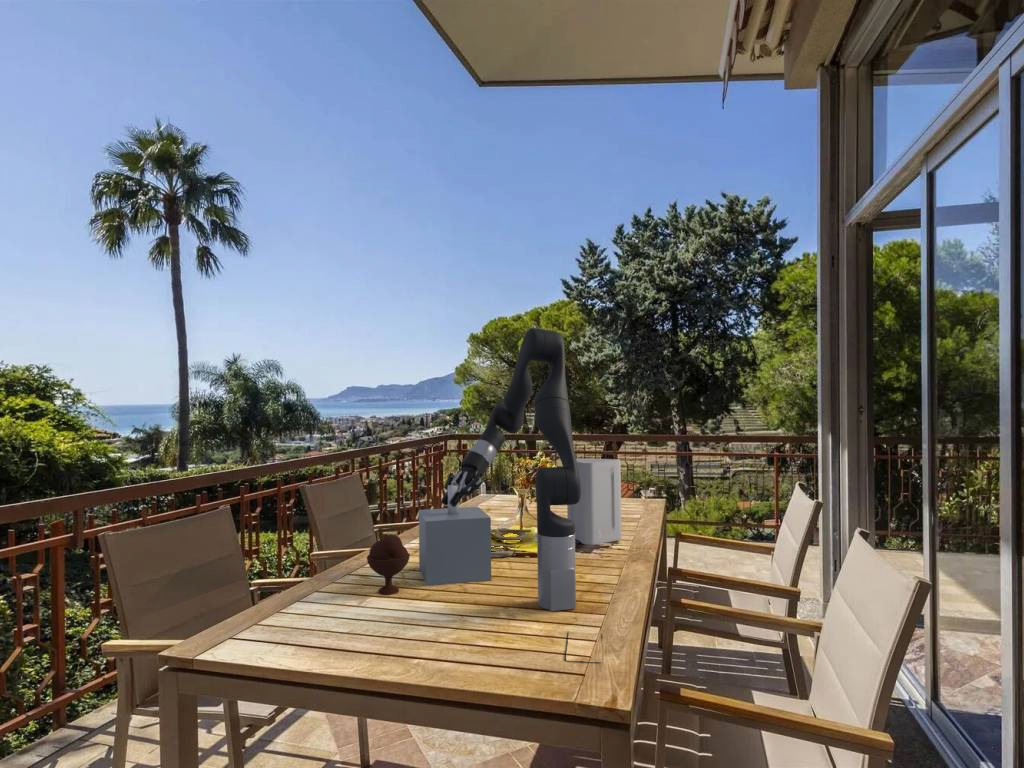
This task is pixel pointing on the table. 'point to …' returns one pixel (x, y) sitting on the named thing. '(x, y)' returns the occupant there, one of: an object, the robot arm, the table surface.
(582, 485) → the grey tall block
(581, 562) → the table surface
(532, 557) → the table surface
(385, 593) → the ice cream bowl
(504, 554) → the tableware set
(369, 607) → the table surface
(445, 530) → the cover
